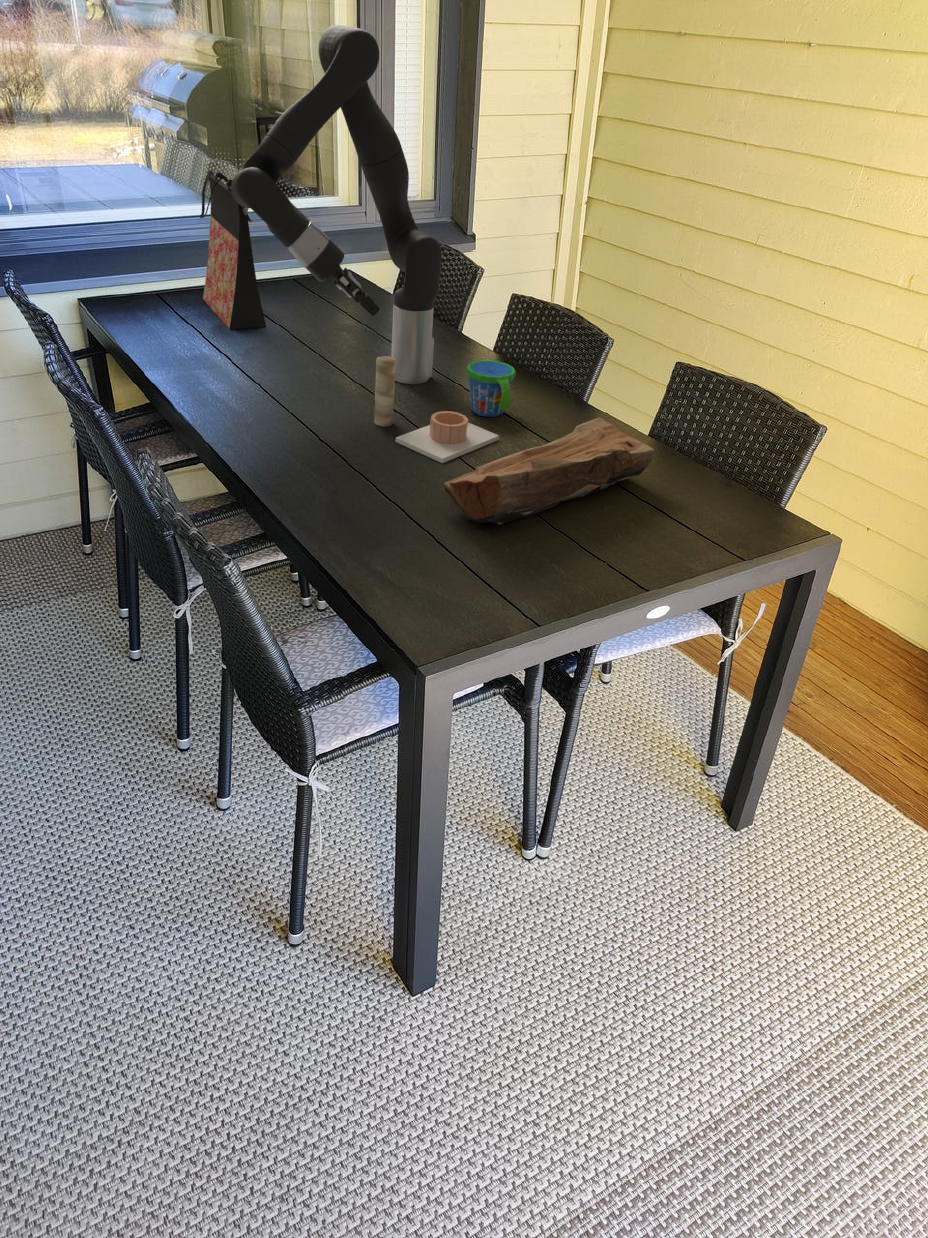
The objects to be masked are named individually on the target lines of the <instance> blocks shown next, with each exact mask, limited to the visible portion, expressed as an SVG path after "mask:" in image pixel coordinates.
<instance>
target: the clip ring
mask: <svg viewBox="0 0 928 1238" xmlns="http://www.w3.org/2000/svg"><path fill="white" fill-rule="evenodd" d="M468 423H469V418H468V417H467V416H466V415H465V414H462V413H460V412H456V411H451V410H450V411H447V410H446V411H445V410H444V411H442V410H441V411H438V412H435V413H432V414H431V417H430V423H429V425H430V434H429V436H430V437H431V439H433V440H434V441H436V442H439V443H443V444H459V443H462V442H464V441H465V440H466V438H467V429H468Z"/></svg>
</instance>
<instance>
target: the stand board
mask: <svg viewBox="0 0 928 1238" xmlns="http://www.w3.org/2000/svg"><path fill="white" fill-rule="evenodd" d="M429 434H430V424H428V425H426V426H423V427H421V428H417V429H415V430H413V431H409V432H407V433H404V434H402V435H397V437H395V443H397V444H399V445H401V446H403V447H406V448H408V449H411V450H413V451H415V452H417V453H419V454H421V455H422V456H423V455H424V456H425V457H428V458H430V459H431V460H434V461H436V462H439V463H440V464H444V463H446V462H448V461H451V460H454V459H456V458H458V457H460V456H463V455H466V454H468V453H470V452H472V451H475V450H478V449H480V448H483V447H485V446H487V445H490V444H493V443H495V442H497V441H499V439H500V435H498V434H497V433H494V432H491V431H489V430H487V429H484V428H482V427H480V426H477V425H474V424H472V423H470V422H468V429H467V438H466V440H465V441H464V442H462V443H459V444H443V443H439V442H436V441H434V440H433V439H431V437H430V436H429Z"/></svg>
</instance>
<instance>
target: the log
mask: <svg viewBox="0 0 928 1238" xmlns="http://www.w3.org/2000/svg"><path fill="white" fill-rule="evenodd" d="M654 451H655V449H654V448H653V447H651V446H649V445H648V444H646V443H644V442H642V441H640V440H638V439H637V438H634V437H632V436H630V435H629V434H627V433H624V432H623V431H620V429H618V427H616V426H615V425H613V424H612V423H610V422H608V421H607V420H605V419H603V418H602V417H597V418H593V419H591V420H587V421H585V422H583V423H580V424H578V425H576V426H575V428H574V429H573V431H572V432H570V433H568V434H566V435H564V436H562V437H560V438H558V439H555V440H553V441H550V442H548V443H546V444H543V445H539V446H536V447H535V446H533V447H531V448H526V449H523V450H522V451H521V450H520V451H518V452H515V453H512V454H509V455H507V456H504V457H501V458H498V459H495V460H492V461H491V462H488V463H485V464H483V465H480V466H478V467H476V468H475V469H474V470H473V471H470V472H466V473H464V474H463V475H460V476H457V477H455V478H452V479H451V480H448V481H446V482H443V485H444V490H445V492H446V493H447V495H449V497H450V498H451V499H452V500H453V501H454V502H455V504H456V506H458V507H459V508H460V510H461V511H462V512H463V513H464V516H465V517H466V518H467V519H469V520H470V521H473V522H475V523H479V524H483V523H485V524H486V523H492V524H494V525H495V524H497V525H503V524H508V523H510V522H511V521H512V522H513V521H515V520H518V519H519V518H521V517H522V518H523V517H527V516H533V515H537V514H539V513H541V512H543V511H545V510H548V509H551V508H553V507H555V506H557V505H558V504H559V503H562V502H565V501H570V500H572V499H573V500H574V499H579V498H583V497H584V496H587V495H588V496H589V495H591V494H595V493H598V492H602V491H604V490H606V489H607V488H609V487H610V486H612V485H614V484H615V483H617V482H620V481H624V480H627V479H631V478H634V477H637V476H641V474H642V473H643V472H644V471H645V470H646V468H647V467H648V466H649V465H651V463H652V460H653V457H654Z"/></svg>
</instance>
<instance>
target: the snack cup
mask: <svg viewBox="0 0 928 1238" xmlns="http://www.w3.org/2000/svg"><path fill="white" fill-rule="evenodd" d="M466 373H467V376H468V387H469V402H470V410H471V412H473V413H474V414H477V415H478V416H479V417H480V416H481V417H488V418H490V417H492V418H495V417H498V416H501V415H502V414H503V413H504V412H505V410H508V409H509V408H510V407H511V402H512V401H511V392H510V391H511V387H512V383H513V380H514V378H515V377H516V373H517V372H516V370H515V368H514V367H513V366H512V365H511V364H508V363H505V362H501V361H497V360H496V361H495V360H488V359H487V360H476V361H473V362H471V363H469V364H468V365H467V367H466Z"/></svg>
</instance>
